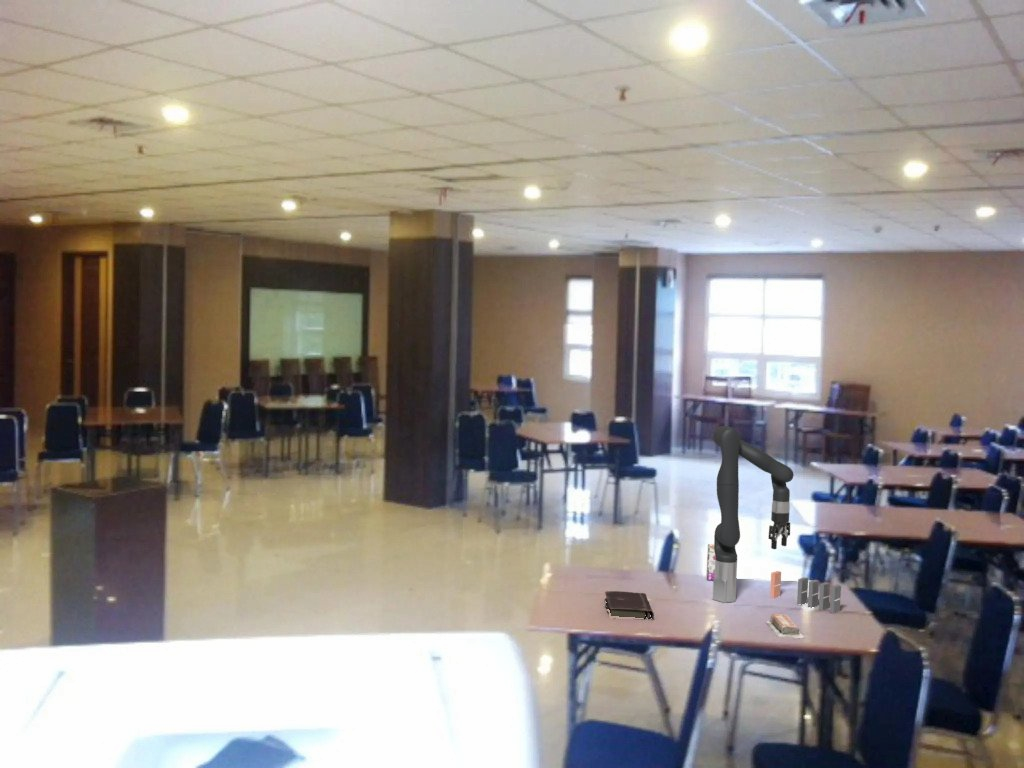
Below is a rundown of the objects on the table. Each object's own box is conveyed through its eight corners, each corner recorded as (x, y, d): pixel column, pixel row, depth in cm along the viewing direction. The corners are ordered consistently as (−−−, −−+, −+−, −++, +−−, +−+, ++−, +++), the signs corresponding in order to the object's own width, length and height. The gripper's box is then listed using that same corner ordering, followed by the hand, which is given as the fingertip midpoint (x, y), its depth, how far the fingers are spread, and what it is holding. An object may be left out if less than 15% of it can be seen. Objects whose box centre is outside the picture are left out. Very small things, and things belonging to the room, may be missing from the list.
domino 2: (807, 603, 408) (808, 578, 407) (801, 605, 404) (802, 580, 404) (803, 602, 409) (804, 577, 408) (797, 604, 406) (798, 579, 405)
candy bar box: (707, 580, 440) (708, 546, 439) (706, 578, 445) (707, 543, 444) (731, 582, 439) (733, 547, 438) (730, 579, 444) (731, 544, 443)
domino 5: (839, 611, 397) (841, 585, 396) (833, 613, 393) (835, 587, 393) (835, 610, 398) (836, 584, 398) (829, 612, 395) (830, 586, 394)
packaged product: (765, 612, 378) (790, 613, 378) (765, 624, 379) (790, 625, 379) (778, 626, 360) (804, 627, 360) (777, 639, 361) (803, 640, 361)
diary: (646, 604, 404) (646, 592, 404) (653, 622, 379) (654, 610, 379) (602, 601, 404) (603, 590, 404) (607, 620, 379) (607, 607, 379)
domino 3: (817, 605, 404) (819, 580, 404) (811, 608, 401) (812, 582, 400) (813, 604, 406) (814, 579, 405) (807, 607, 402) (808, 581, 401)
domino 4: (828, 608, 401) (830, 583, 400) (822, 611, 397) (823, 585, 396) (824, 607, 402) (825, 582, 401) (818, 609, 398) (819, 584, 398)
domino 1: (780, 596, 417) (781, 571, 417) (773, 598, 414) (774, 573, 413) (776, 595, 419) (777, 570, 418) (770, 597, 415) (771, 572, 414)
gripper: (781, 507, 421) (779, 543, 422) (764, 511, 411) (762, 548, 412) (796, 510, 416) (794, 546, 417) (779, 514, 406) (778, 551, 407)
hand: (778, 547), depth 415 cm, fingers open, 8 cm apart
